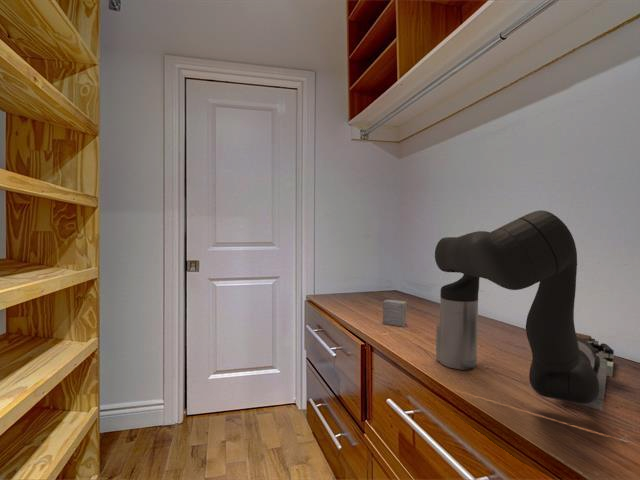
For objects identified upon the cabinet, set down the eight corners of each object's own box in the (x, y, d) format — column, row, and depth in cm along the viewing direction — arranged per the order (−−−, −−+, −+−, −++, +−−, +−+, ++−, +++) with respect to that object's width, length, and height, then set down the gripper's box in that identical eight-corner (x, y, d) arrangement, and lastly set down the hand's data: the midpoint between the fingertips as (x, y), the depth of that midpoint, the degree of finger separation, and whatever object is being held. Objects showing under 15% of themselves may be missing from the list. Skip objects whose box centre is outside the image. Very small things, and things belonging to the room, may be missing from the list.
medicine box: (406, 324, 132) (407, 301, 132) (402, 327, 128) (403, 303, 128) (386, 321, 136) (386, 299, 136) (382, 324, 132) (382, 301, 132)
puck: (597, 372, 87) (598, 360, 87) (578, 367, 90) (578, 356, 90) (601, 368, 90) (601, 357, 89) (582, 364, 93) (582, 352, 92)
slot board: (602, 412, 69) (602, 400, 68) (536, 394, 76) (536, 384, 76) (608, 364, 94) (608, 355, 94) (559, 354, 101) (559, 346, 101)
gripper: (616, 347, 73) (617, 331, 85) (535, 333, 82) (547, 320, 95) (614, 383, 73) (616, 362, 86) (534, 365, 82) (547, 348, 95)
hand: (580, 340), depth 90 cm, fingers closed on wooden block, 4 cm apart
